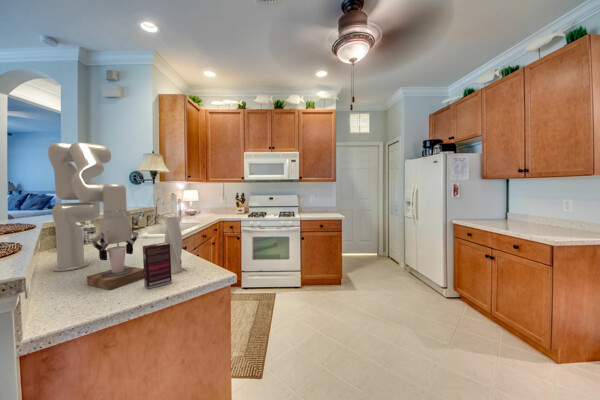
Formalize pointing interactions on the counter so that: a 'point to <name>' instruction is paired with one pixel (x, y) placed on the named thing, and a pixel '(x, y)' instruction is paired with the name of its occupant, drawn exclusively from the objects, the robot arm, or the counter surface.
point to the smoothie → (117, 258)
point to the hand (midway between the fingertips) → (117, 256)
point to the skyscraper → (174, 241)
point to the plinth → (115, 278)
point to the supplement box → (157, 265)
